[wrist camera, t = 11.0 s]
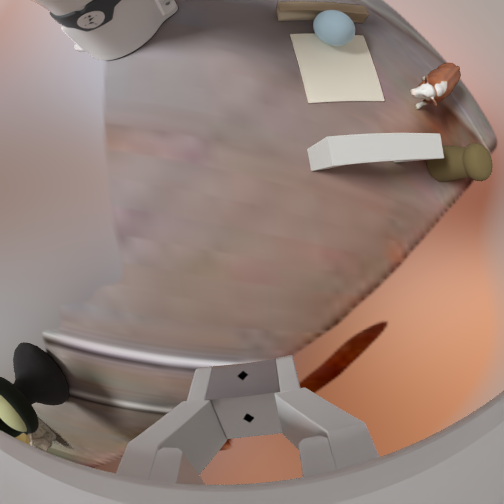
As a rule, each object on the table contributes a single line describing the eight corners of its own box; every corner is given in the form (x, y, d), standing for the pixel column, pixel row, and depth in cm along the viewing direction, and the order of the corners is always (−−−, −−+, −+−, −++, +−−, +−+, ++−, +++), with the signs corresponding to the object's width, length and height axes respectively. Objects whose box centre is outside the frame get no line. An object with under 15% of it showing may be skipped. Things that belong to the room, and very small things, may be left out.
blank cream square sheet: (289, 34, 29) (289, 34, 29) (362, 36, 29) (363, 35, 29) (308, 103, 32) (308, 102, 32) (384, 101, 32) (384, 101, 31)
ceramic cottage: (14, 413, 49) (-3, 439, 35) (23, 400, 48) (3, 430, 33) (48, 442, 53) (34, 470, 39) (61, 433, 51) (46, 466, 37)
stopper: (275, 12, 28) (277, 2, 25) (358, 14, 28) (364, 6, 25) (278, 21, 29) (280, 10, 26) (362, 23, 28) (369, 14, 25)
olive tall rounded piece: (429, 183, 35) (476, 186, 24) (423, 145, 33) (469, 138, 22) (454, 180, 34) (499, 183, 24) (448, 144, 33) (493, 139, 22)
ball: (307, 5, 25) (321, 15, 23) (345, 7, 25) (363, 18, 22) (308, 37, 30) (321, 51, 28) (344, 38, 30) (360, 52, 28)
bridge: (307, 149, 34) (327, 136, 24) (401, 142, 33) (439, 133, 24) (311, 171, 34) (332, 165, 25) (404, 161, 34) (444, 158, 24)
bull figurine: (388, 97, 32) (416, 82, 24) (432, 68, 30) (459, 54, 22) (405, 121, 32) (435, 110, 24) (446, 89, 30) (475, 78, 22)
